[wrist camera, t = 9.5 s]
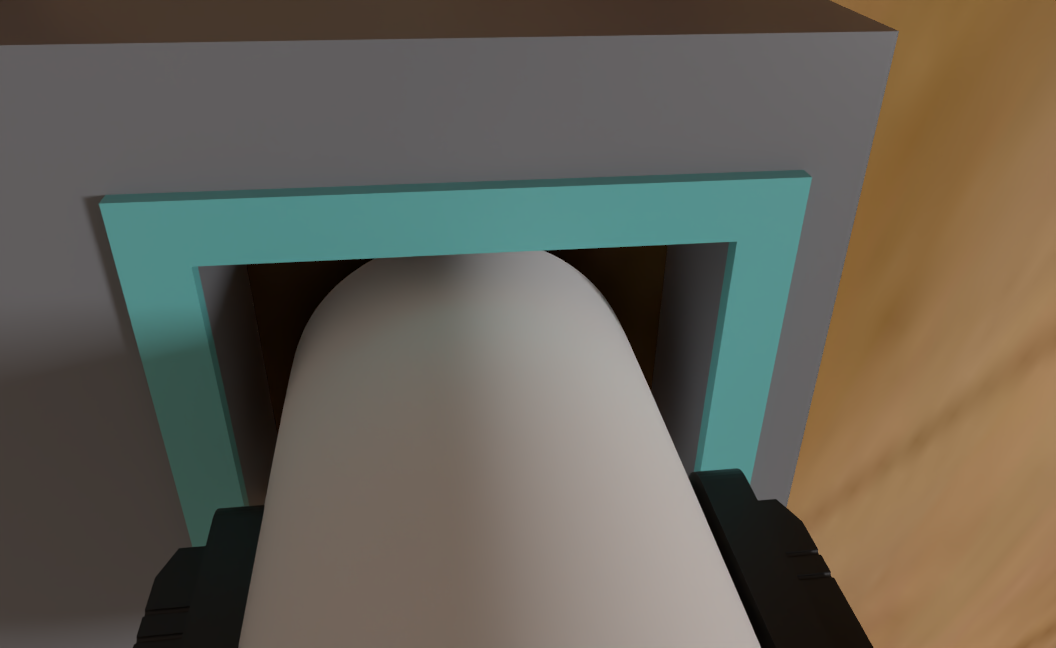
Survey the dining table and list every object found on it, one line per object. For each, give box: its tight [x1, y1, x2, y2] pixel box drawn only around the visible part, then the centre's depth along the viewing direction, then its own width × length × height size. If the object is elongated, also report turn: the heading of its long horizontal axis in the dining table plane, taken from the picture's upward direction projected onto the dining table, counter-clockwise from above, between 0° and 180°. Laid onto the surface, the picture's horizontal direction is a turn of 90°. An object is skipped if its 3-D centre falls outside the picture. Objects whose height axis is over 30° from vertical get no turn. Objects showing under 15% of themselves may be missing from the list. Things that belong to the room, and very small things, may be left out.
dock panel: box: [0, 0, 899, 648], centre depth 15 cm, size 14×25×3 cm, turn 89°
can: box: [238, 251, 761, 648], centre depth 11 cm, size 6×6×12 cm
